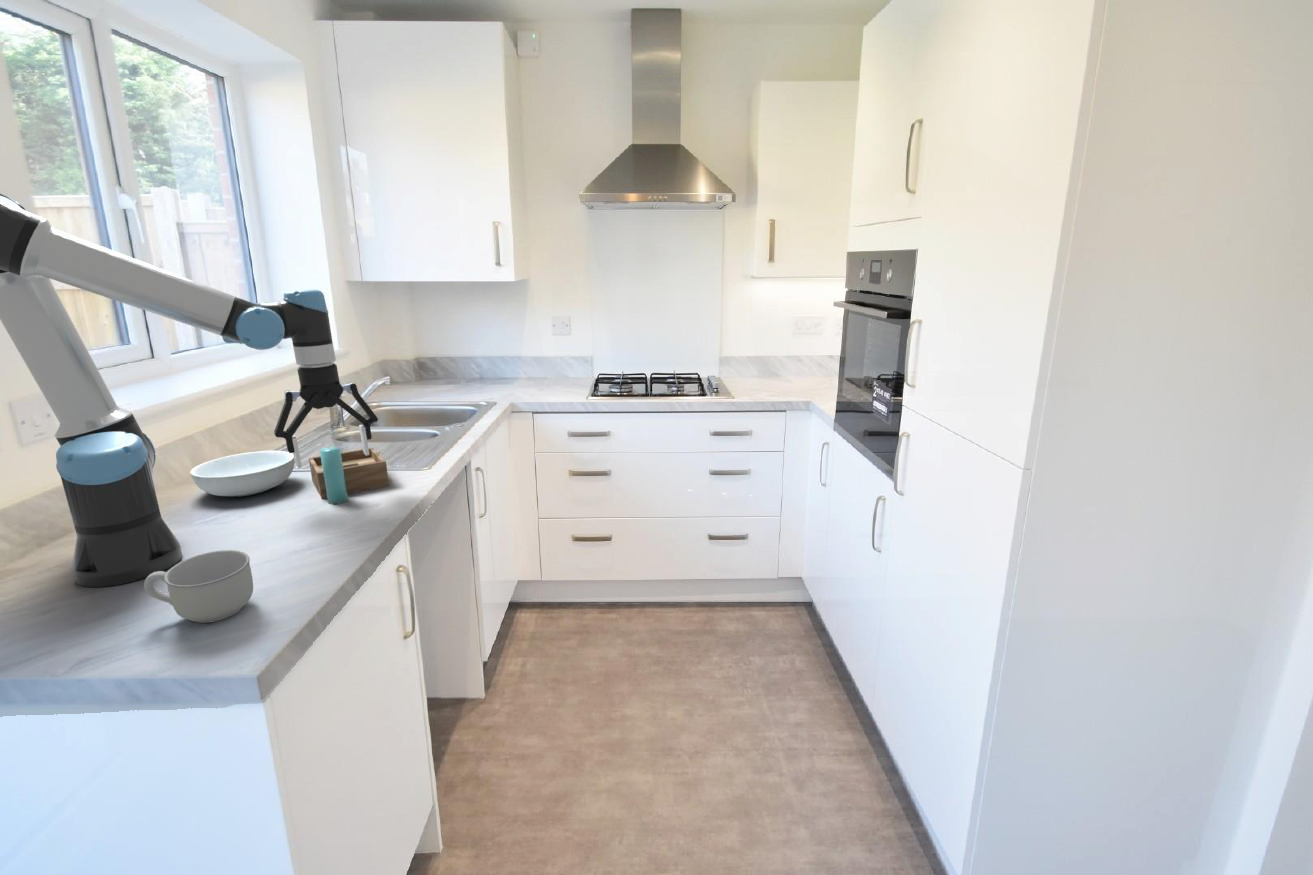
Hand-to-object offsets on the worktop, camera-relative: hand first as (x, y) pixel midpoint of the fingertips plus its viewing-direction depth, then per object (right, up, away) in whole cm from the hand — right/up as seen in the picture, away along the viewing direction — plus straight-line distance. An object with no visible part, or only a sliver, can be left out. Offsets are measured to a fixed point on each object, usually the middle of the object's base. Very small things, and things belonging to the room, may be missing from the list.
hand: (333, 460), depth 145 cm
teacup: (+2, -22, -44) cm, 49 cm away
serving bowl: (-25, -8, +11) cm, 28 cm away
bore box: (-3, -6, +13) cm, 15 cm away
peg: (0, -9, +2) cm, 9 cm away
